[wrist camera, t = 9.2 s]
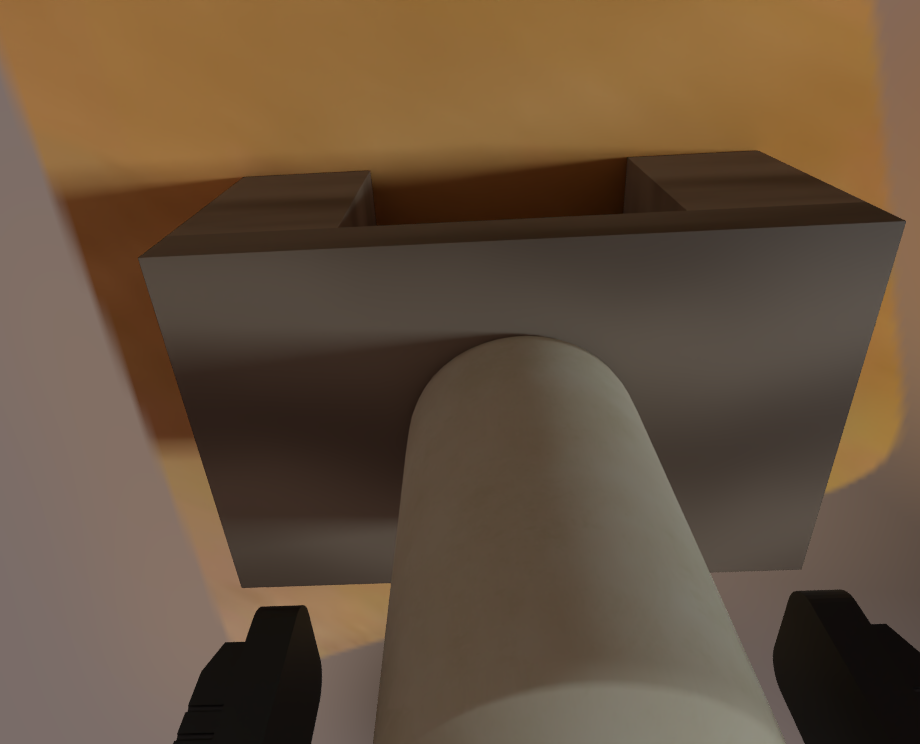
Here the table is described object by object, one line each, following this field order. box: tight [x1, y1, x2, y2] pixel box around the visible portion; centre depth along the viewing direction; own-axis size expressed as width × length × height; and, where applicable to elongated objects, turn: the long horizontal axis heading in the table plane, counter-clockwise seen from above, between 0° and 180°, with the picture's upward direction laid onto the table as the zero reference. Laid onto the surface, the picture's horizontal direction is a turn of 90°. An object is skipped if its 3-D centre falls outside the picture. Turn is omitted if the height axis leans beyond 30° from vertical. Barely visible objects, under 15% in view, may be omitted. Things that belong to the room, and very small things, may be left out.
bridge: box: [138, 151, 906, 588], centre depth 19 cm, size 10×16×8 cm, turn 93°
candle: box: [373, 336, 786, 744], centre depth 11 cm, size 6×6×10 cm
